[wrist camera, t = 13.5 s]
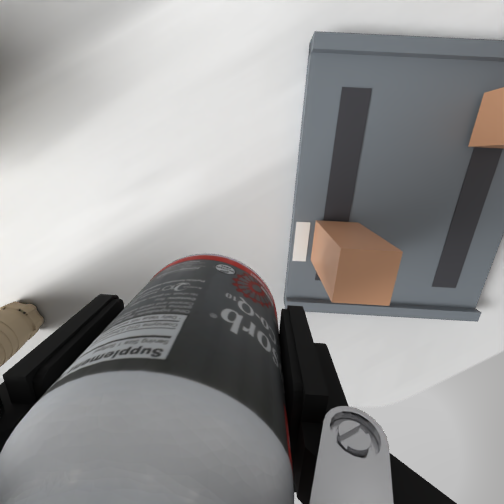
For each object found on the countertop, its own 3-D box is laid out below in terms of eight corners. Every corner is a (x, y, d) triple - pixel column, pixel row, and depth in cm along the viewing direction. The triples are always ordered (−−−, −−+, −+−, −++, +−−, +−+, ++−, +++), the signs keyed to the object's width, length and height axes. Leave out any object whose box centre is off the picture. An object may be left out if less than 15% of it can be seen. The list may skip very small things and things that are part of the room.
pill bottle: (294, 340, 12) (411, 940, 3) (185, 376, 13) (-4, 928, 4) (243, 227, 11) (111, 766, 1) (122, 278, 11) (-510, 818, 2)
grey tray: (309, 43, 16) (314, 31, 15) (555, 54, 16) (585, 44, 15) (283, 300, 22) (285, 310, 21) (462, 310, 22) (477, 321, 21)
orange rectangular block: (315, 220, 19) (340, 248, 13) (358, 222, 19) (403, 251, 13) (310, 259, 20) (331, 302, 14) (351, 262, 20) (389, 305, 14)
